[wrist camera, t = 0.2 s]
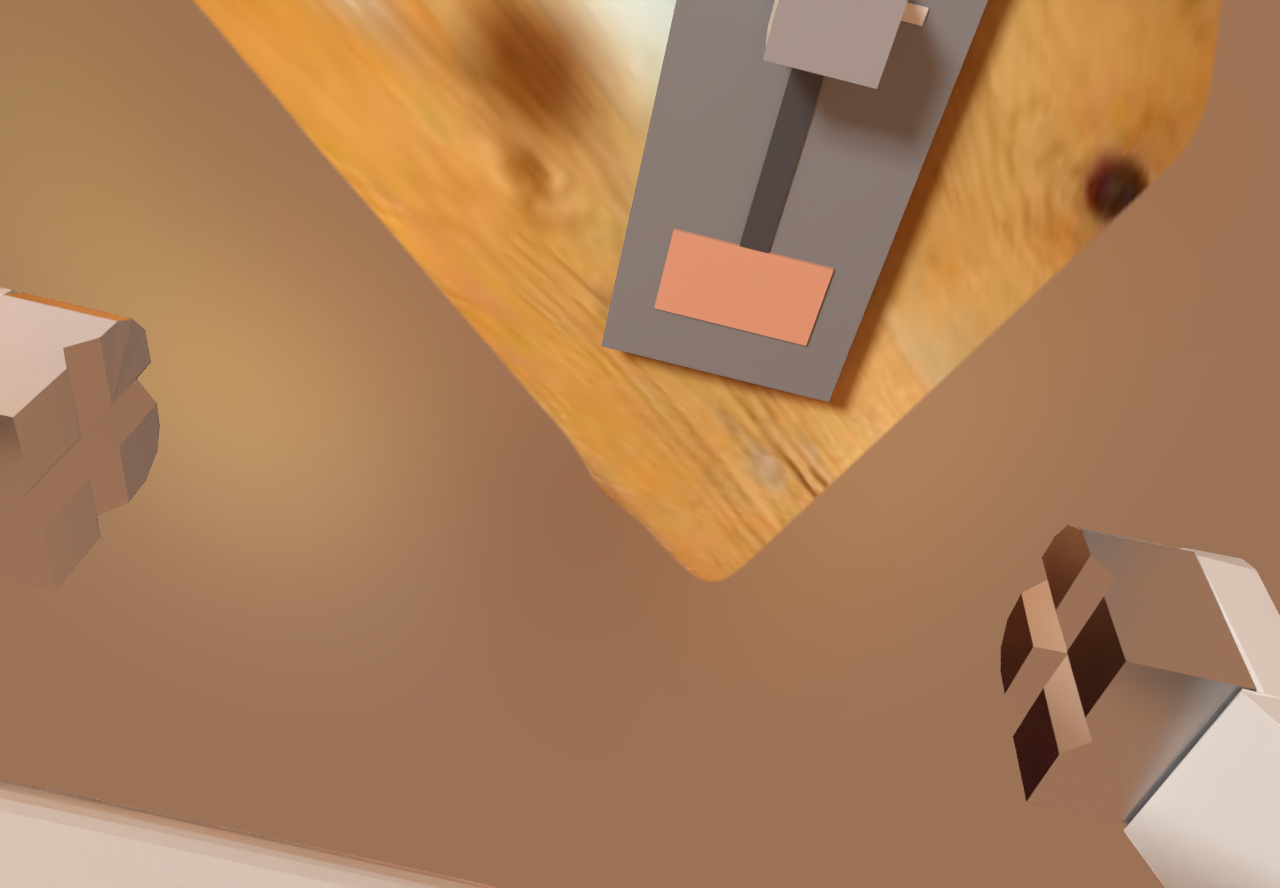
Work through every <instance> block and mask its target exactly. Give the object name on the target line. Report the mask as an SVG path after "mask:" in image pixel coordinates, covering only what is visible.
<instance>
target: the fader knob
mask: <svg viewBox="0 0 1280 888" xmlns="http://www.w3.org/2000/svg"><path fill="white" fill-rule="evenodd" d="M907 2H908V0H775V1H774V5H773V9H772V12H771V16H770V20H769V23H768V29H767V39H766V48H765V52H764V56H763V60H765V61H769V62H772V63H776V64H780V65H784V66H788V67H792V68H796V69H800V70H804V71H808V72H812V73H816V74H820V75H824V76H827V77H831V78H835V79H839V80H843V81H847V82H851V83H855V84H859V85H863V86H867V87H871V88H875V89H877V87H878V84H879V82H880V79H881V76H882V73H883V70H884V67H885V64H886V62H887V59H888V56H889V53H890V50H891V47H892V44H893V42H894V39H895V36H896V33H897V30H898V27H899V24H900V22H901V19H902V16H903V13H904V10H905V7H906V4H907Z"/></svg>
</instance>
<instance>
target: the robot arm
mask: <svg viewBox="0 0 1280 888" xmlns="http://www.w3.org/2000/svg"><path fill="white" fill-rule="evenodd" d="M150 363H151V359H150V354H149V349H148V343H147V338H146V333H145V330H144V329H143V328H142V327H141V326H140V325H139V324H138V323H136V322H135V321H134V320H133V319H132V318H127V317H123V316H119V315H115V314H111V313H107V312H103V311H99V310H95V309H90V308H86V307H82V306H78V305H73V304H70V303H65V302H61V301H57V300H53V299H49V298H45V297H41V296H36V295H33V294H28V293H24V292H20V293H18V292H16V291H13V290H10V289H6V288H1V287H0V579H2V580H7V581H12V582H17V583H23V584H28V585H33V586H38V587H44V588H49V589H54V590H57V588H58V587H59V586H60V585H61V584H62V583H63V581H64V580H65V579H66V578H67V577H68V575H69V574H70V573H71V572H72V571H73V569H74V568H75V567H76V566H77V565H78V563H79V562H80V561H81V560H82V558H83V557H84V556H85V555H86V554H87V553H88V551H89V550H90V549H91V548H92V547H93V545H94V544H95V543H96V542H97V541H98V539H99V538H100V537H101V535H100V530H99V524H98V518H97V516H98V515H100V514H103V513H105V512H108V511H110V510H112V509H115V508H117V507H120V506H122V505H124V504H126V503H129V501H130V500H131V499H132V498H133V496H134V495H135V494H136V493H137V491H138V490H139V488H140V487H141V486H142V484H144V482H145V481H146V478H147V476H148V474H149V471H150V469H151V466H152V463H153V461H154V458H155V456H156V453H157V449H158V438H159V428H160V424H159V416H158V408H157V403H156V402H155V401H154V399H152V397H151V396H150V395H149V393H148V392H147V391H146V390H145V388H144V387H143V386H142V385H141V384H140V382H139V381H138V380H137V378H138V377H139V376H140V375H141V373H142V372H143V371H144V370H145V369H146V367H147V366H148V365H149V364H150ZM1042 560H1043V564H1044V568H1045V572H1046V575H1047V579H1048V580H1046V581H1044V582H1042V583H1040V584H1038V585H1036V586H1034V587H1032V588H1030V589H1028V590H1026V591H1024V592H1022V593H1021V594H1020V596H1019V598H1018V600H1017V602H1016V604H1015V606H1014V608H1013V610H1012V612H1011V614H1010V616H1009V617H1008V619H1007V623H1006V628H1005V632H1004V636H1003V640H1002V645H1001V668H1000V670H1001V677H1002V682H1003V688H1004V694H1005V695H1006V697H1007V698H1008V699H1009V700H1010V701H1011V702H1012V703H1013V705H1014V706H1015V707H1016V708H1017V709H1018V710H1019V711H1020V713H1021V714H1022V715H1023V716H1024V717H1025V718H1024V719H1023V721H1022V722H1021V724H1020V726H1019V727H1018V729H1017V730H1016V732H1015V734H1014V735H1013V739H1014V744H1015V749H1016V753H1017V759H1018V764H1019V769H1020V773H1021V778H1022V783H1023V788H1024V793H1025V798H1026V802H1029V803H1032V804H1037V805H1041V806H1045V807H1049V808H1053V809H1057V810H1061V811H1065V812H1069V813H1073V814H1077V815H1081V816H1085V817H1090V818H1093V819H1097V820H1102V821H1106V822H1110V823H1114V824H1118V825H1122V826H1126V828H1125V829H1124V832H1125V833H1126V835H1127V836H1128V838H1129V839H1130V840H1131V842H1132V843H1133V844H1134V846H1135V847H1136V848H1137V850H1138V851H1139V853H1140V854H1141V855H1142V857H1143V858H1144V859H1145V861H1146V862H1147V864H1148V865H1149V866H1150V868H1151V869H1152V870H1153V872H1154V873H1155V875H1156V876H1157V877H1158V878H1159V880H1160V881H1161V883H1162V884H1163V885H1164V887H1165V888H1280V616H1279V614H1278V612H1277V610H1276V608H1275V606H1274V604H1273V602H1272V600H1271V598H1270V597H1269V594H1268V593H1267V590H1266V589H1265V587H1264V585H1263V583H1262V581H1261V579H1260V577H1259V575H1258V573H1257V571H1256V570H1255V569H1254V568H1253V567H1252V566H1250V565H1249V564H1248V563H1247V562H1245V561H1244V560H1243V559H1240V558H1235V557H1229V556H1224V555H1219V554H1214V553H1208V552H1203V551H1198V550H1193V549H1187V548H1182V549H1178V548H1173V547H1168V546H1164V545H1159V544H1155V543H1150V542H1145V541H1140V540H1136V539H1131V538H1126V537H1122V536H1117V535H1112V534H1108V533H1103V532H1098V531H1094V530H1089V529H1084V528H1080V527H1075V526H1070V525H1067V526H1066V527H1065V528H1064V529H1062V530H1061V531H1060V532H1059V533H1058V534H1057V535H1056V536H1054V538H1053V540H1052V541H1051V543H1050V545H1049V546H1048V548H1047V550H1046V551H1045V553H1044V555H1043V556H1042ZM0 888H500V887H495V886H490V885H486V884H481V883H477V882H472V881H467V880H463V879H459V878H454V877H449V876H445V875H440V874H436V873H431V872H427V871H422V870H417V869H412V868H408V867H404V866H399V865H395V864H390V863H386V862H381V861H376V860H372V859H367V858H363V857H358V856H353V855H349V854H344V853H340V852H335V851H330V850H326V849H322V848H317V847H312V846H308V845H303V844H299V843H294V842H290V841H285V840H280V839H276V838H271V837H267V836H262V835H258V834H253V833H248V832H244V831H239V830H235V829H230V828H225V827H221V826H216V825H212V824H207V823H203V822H198V821H194V820H189V819H184V818H180V817H175V816H171V815H166V814H161V813H156V812H153V811H148V810H143V809H138V808H134V807H130V806H125V805H120V804H116V803H111V802H107V801H101V800H97V799H93V798H88V797H84V796H79V795H74V794H70V793H65V792H61V791H56V790H51V789H47V788H42V787H37V786H33V785H29V784H24V783H19V782H15V781H10V780H6V779H1V778H0Z"/></svg>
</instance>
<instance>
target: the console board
mask: <svg viewBox="0 0 1280 888" xmlns="http://www.w3.org/2000/svg"><path fill="white" fill-rule="evenodd" d="M774 1H775V0H677V1H676V6H675V10H674V15H673V19H672V24H671V29H670V33H669V38H668V42H667V47H666V52H665V56H664V61H663V65H662V70H661V75H660V79H659V84H658V88H657V93H656V97H655V102H654V107H653V111H652V116H651V120H650V125H649V130H648V134H647V139H646V143H645V148H644V153H643V157H642V162H641V166H640V171H639V176H638V180H637V185H636V189H635V194H634V199H633V203H632V208H631V212H630V217H629V222H628V226H627V231H626V235H625V240H624V245H623V249H622V254H621V258H620V263H619V268H618V272H617V277H616V281H615V286H614V291H613V295H612V300H611V304H610V309H609V314H608V318H607V323H606V327H605V332H604V337H603V341H602V346H603V347H607V348H611V349H615V350H619V351H623V352H628V353H632V354H636V355H640V356H644V357H648V358H652V359H656V360H660V361H664V362H668V363H672V364H676V365H680V366H684V367H688V368H692V369H696V370H700V371H704V372H708V373H713V374H717V375H721V376H725V377H729V378H733V379H737V380H741V381H745V382H749V383H753V384H757V385H761V386H765V387H769V388H773V389H777V390H781V391H785V392H789V393H794V394H798V395H802V396H806V397H810V398H814V399H818V400H822V401H826V402H829V401H830V398H831V395H832V393H833V390H834V388H835V385H836V383H837V380H838V378H839V375H840V373H841V370H842V368H843V365H844V363H845V360H846V358H847V355H848V353H849V350H850V348H851V345H852V342H853V340H854V337H855V335H856V332H857V330H858V327H859V325H860V322H861V320H862V317H863V315H864V312H865V310H866V307H867V305H868V302H869V300H870V297H871V295H872V292H873V289H874V287H875V284H876V282H877V279H878V277H879V274H880V272H881V269H882V267H883V264H884V262H885V259H886V257H887V254H888V252H889V249H890V247H891V244H892V241H893V239H894V236H895V234H896V231H897V229H898V226H899V224H900V221H901V219H902V216H903V214H904V211H905V209H906V206H907V204H908V201H909V199H910V196H911V194H912V191H913V188H914V186H915V183H916V181H917V178H918V176H919V173H920V171H921V168H922V166H923V163H924V161H925V158H926V156H927V153H928V151H929V148H930V146H931V143H932V141H933V138H934V135H935V133H936V130H937V128H938V125H939V123H940V120H941V118H942V115H943V113H944V110H945V108H946V105H947V103H948V100H949V98H950V95H951V93H952V90H953V87H954V85H955V82H956V80H957V77H958V75H959V72H960V70H961V67H962V65H963V62H964V60H965V57H966V55H967V52H968V50H969V47H970V45H971V42H972V40H973V37H974V34H975V32H976V29H977V27H978V24H979V22H980V19H981V17H982V14H983V12H984V9H985V7H986V4H987V2H988V0H908V2H907V4H906V7H905V10H904V13H903V16H902V19H901V22H900V24H899V27H898V30H897V33H896V36H895V39H894V42H893V44H892V47H891V50H890V53H889V56H888V59H887V62H886V64H885V67H884V70H883V73H882V76H881V79H880V82H879V84H878V87H877V89H875V88H871V87H867V86H863V85H859V84H855V83H851V82H847V81H843V80H839V79H835V78H831V77H827V76H824V75H820V74H816V73H812V72H808V71H804V70H800V69H796V68H792V67H788V66H784V65H780V64H776V63H772V62H769V61H765V60H763V56H764V52H765V48H766V39H767V29H768V23H769V20H770V16H771V12H772V9H773V5H774Z"/></svg>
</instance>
